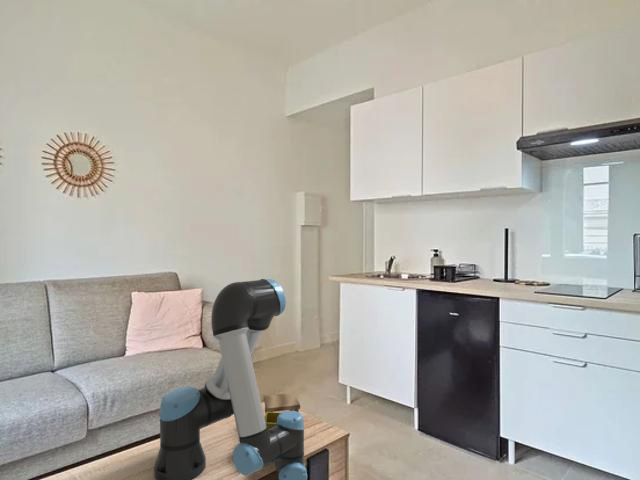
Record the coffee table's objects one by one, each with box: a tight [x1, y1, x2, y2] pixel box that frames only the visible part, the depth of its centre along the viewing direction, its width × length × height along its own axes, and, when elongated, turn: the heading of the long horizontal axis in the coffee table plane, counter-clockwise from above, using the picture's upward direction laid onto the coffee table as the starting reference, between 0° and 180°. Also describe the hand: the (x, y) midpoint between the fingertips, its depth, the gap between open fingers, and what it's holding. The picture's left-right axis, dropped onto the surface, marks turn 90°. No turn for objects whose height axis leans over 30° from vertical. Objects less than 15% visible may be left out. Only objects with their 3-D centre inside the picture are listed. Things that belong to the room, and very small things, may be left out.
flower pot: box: [264, 411, 281, 430], centre depth 142 cm, size 9×9×9 cm
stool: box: [263, 392, 301, 415], centre depth 155 cm, size 12×12×10 cm
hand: (274, 420), depth 146 cm, fingers closed on flower pot, 11 cm apart
